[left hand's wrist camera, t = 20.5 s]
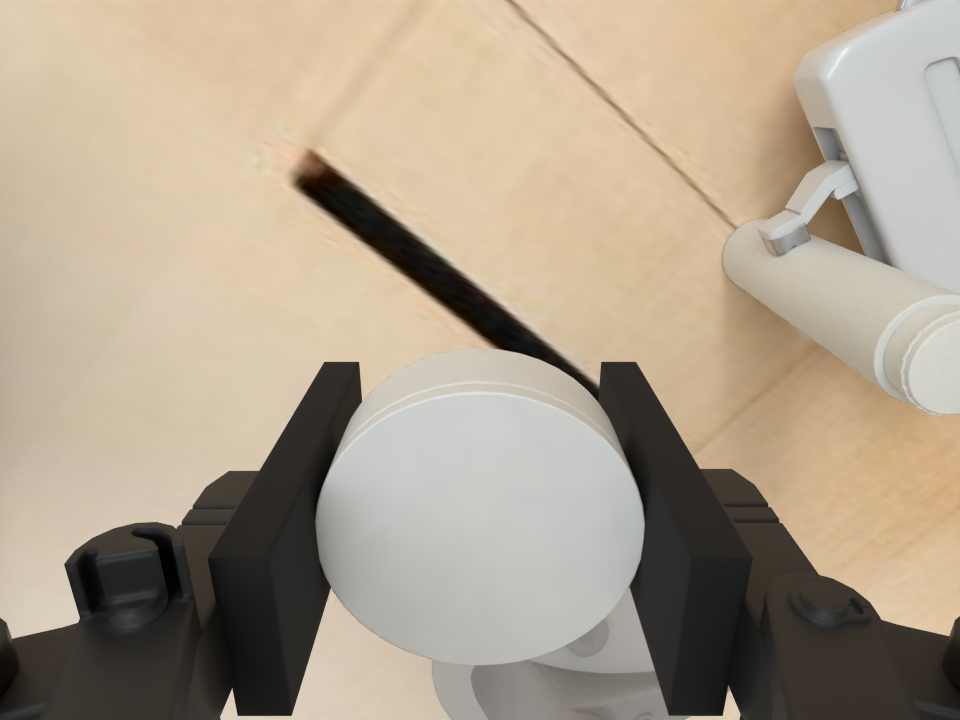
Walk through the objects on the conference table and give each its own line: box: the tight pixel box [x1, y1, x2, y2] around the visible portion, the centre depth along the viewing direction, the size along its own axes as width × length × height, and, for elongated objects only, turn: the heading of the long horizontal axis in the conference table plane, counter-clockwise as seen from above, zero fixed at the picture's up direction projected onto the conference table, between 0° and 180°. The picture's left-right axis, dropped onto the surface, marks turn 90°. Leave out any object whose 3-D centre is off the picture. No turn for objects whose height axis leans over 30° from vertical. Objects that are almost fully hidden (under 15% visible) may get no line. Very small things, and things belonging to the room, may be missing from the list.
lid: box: [315, 349, 645, 665], centre depth 11 cm, size 5×5×2 cm
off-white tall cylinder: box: [722, 218, 960, 416], centre depth 32 cm, size 4×4×18 cm
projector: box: [432, 588, 730, 720], centre depth 43 cm, size 22×23×15 cm
